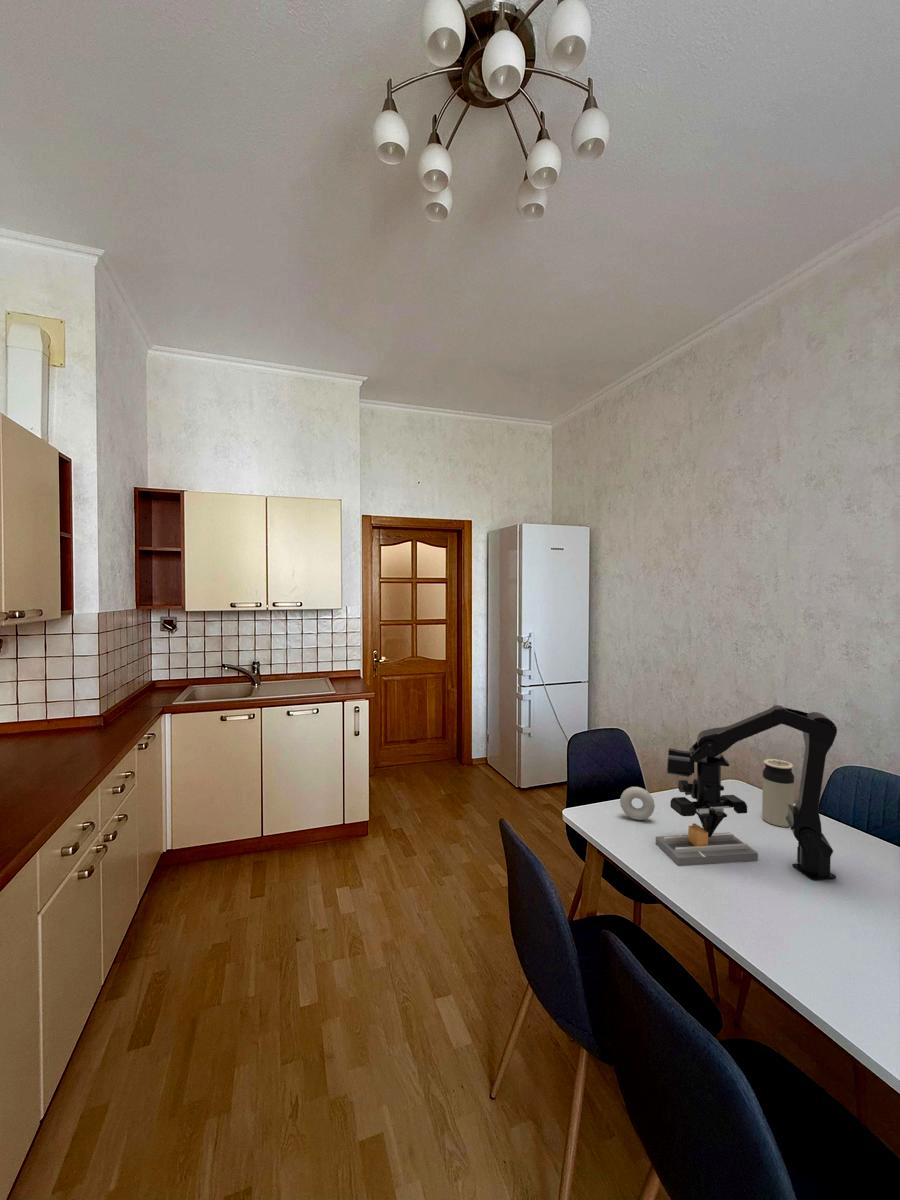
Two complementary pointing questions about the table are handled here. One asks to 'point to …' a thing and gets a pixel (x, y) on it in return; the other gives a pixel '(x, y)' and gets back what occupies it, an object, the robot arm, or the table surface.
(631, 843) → the table surface
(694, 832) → the fader cap
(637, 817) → the donut
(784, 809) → the travel mug
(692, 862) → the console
